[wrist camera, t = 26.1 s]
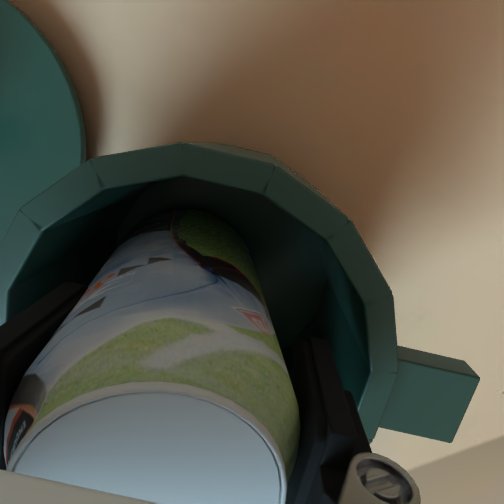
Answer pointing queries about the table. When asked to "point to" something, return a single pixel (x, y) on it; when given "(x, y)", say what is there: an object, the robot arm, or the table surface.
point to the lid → (33, 115)
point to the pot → (264, 260)
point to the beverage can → (163, 377)
